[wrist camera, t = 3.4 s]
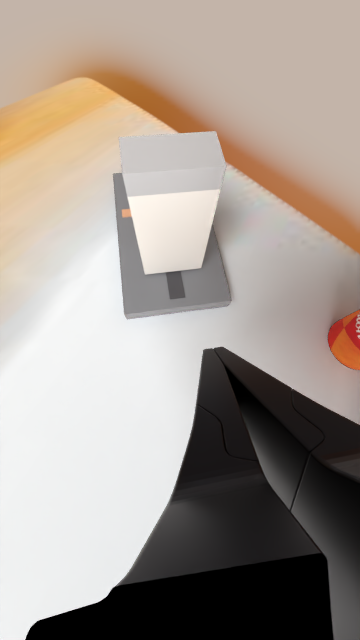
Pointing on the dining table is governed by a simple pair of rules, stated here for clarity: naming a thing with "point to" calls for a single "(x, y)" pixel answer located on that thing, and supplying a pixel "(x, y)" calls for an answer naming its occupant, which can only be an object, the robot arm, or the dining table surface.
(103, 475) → the dining table surface
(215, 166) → the fader handle
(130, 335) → the dining table surface
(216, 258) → the fader console
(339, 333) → the paper cup
